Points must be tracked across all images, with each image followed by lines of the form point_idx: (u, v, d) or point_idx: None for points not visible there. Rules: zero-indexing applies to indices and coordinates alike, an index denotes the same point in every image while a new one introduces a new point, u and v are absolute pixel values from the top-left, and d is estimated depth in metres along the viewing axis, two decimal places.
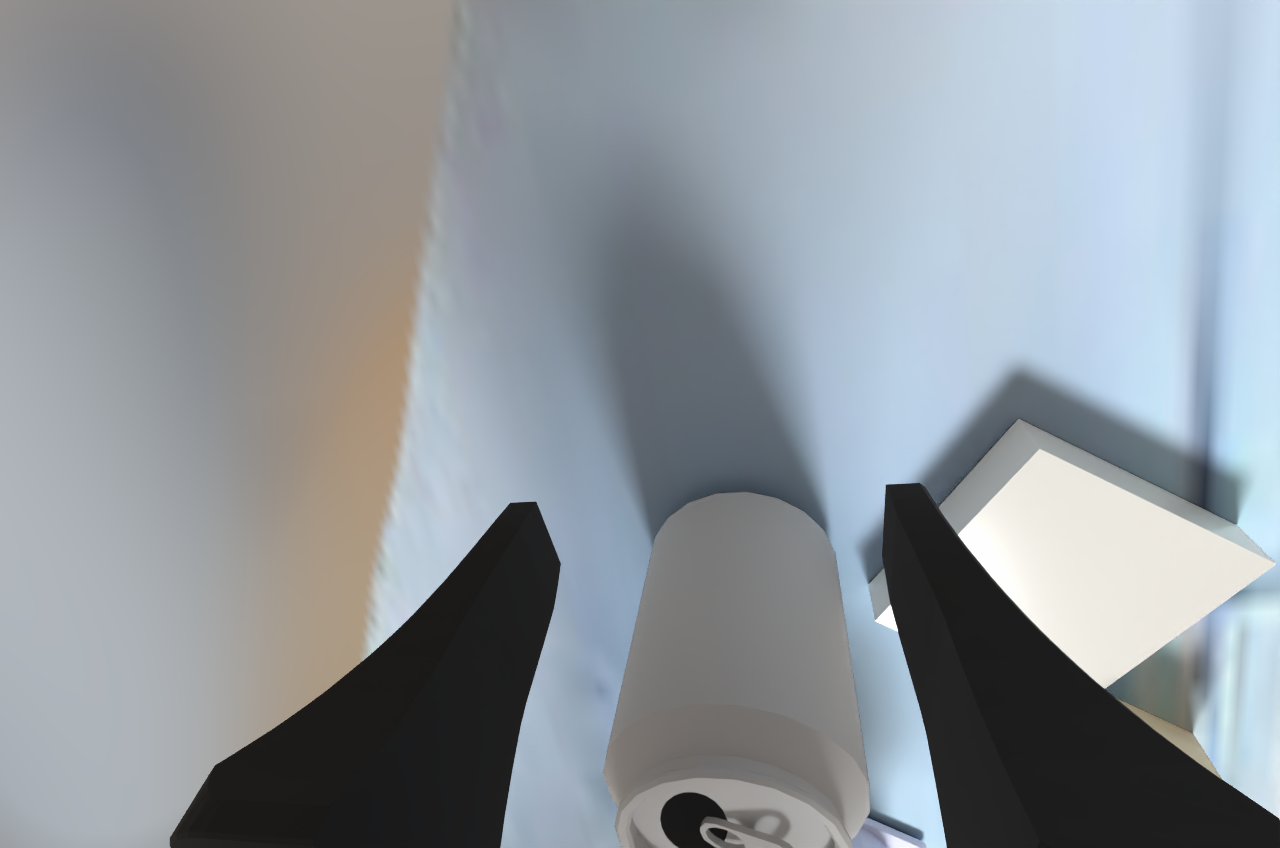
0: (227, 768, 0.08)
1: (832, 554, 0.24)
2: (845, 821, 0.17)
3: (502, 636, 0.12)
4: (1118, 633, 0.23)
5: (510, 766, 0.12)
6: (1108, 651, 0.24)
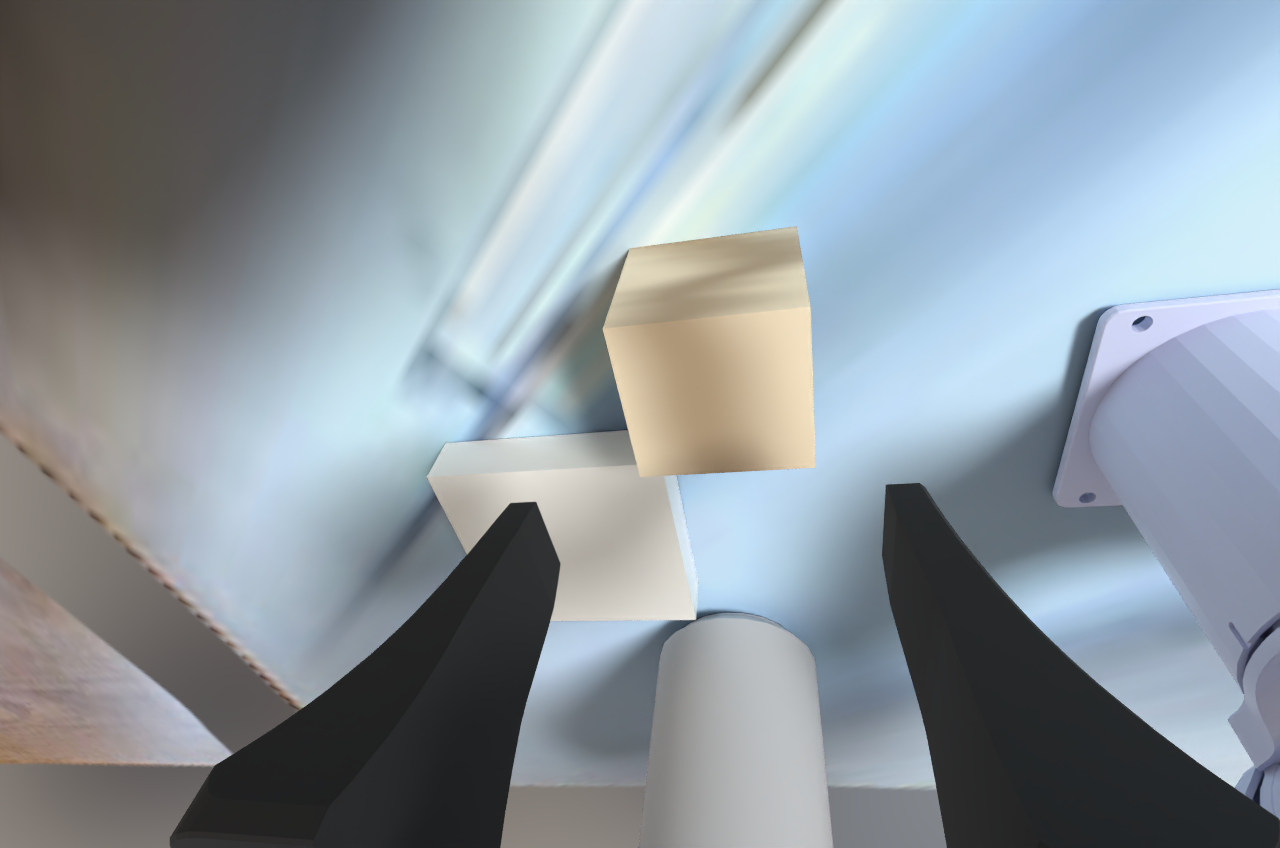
0: (227, 767, 0.08)
1: (670, 647, 0.30)
2: None
3: (502, 636, 0.12)
4: (561, 502, 0.24)
5: (510, 767, 0.12)
6: (581, 494, 0.24)
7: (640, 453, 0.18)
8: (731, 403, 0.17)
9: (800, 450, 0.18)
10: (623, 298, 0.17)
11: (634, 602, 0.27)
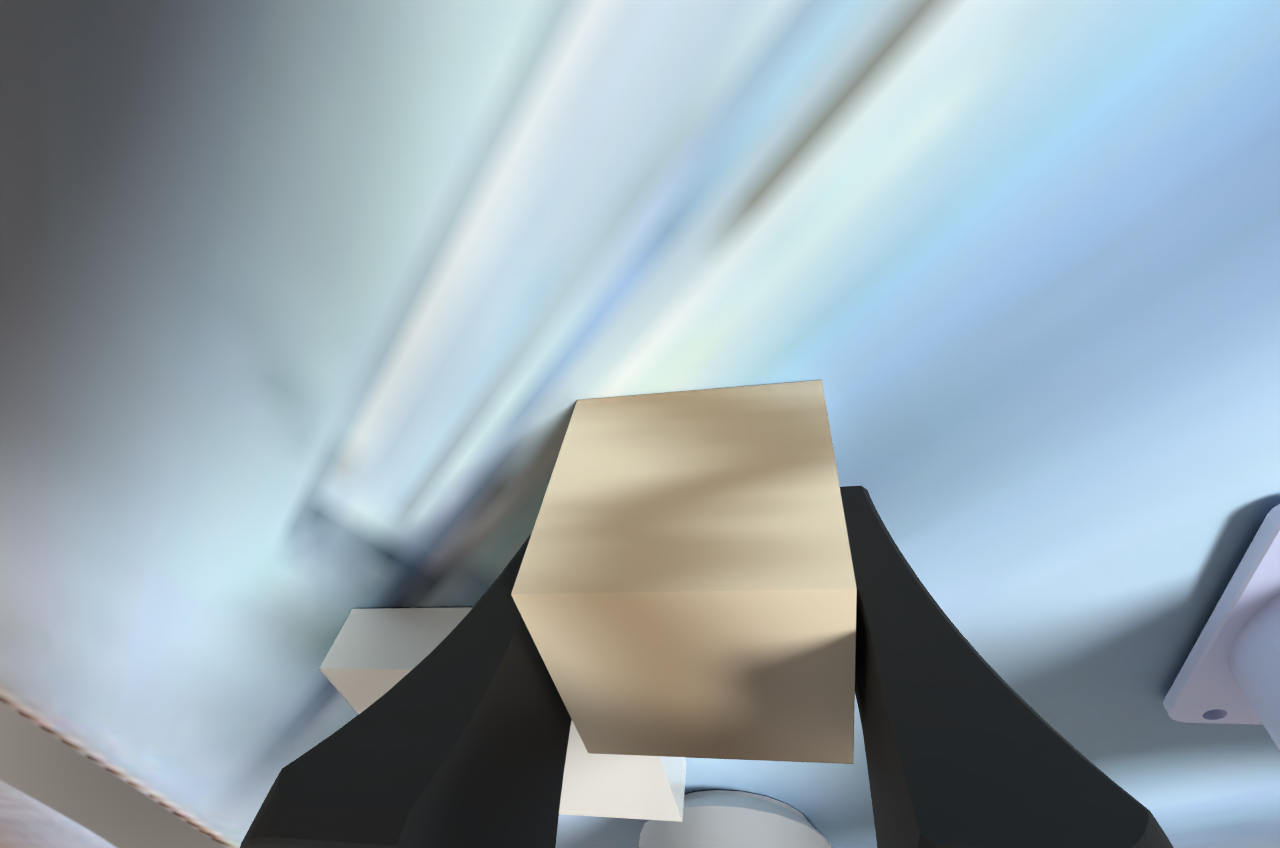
0: (295, 771, 0.08)
1: (651, 836, 0.24)
2: None
3: None
4: None
5: (562, 769, 0.12)
6: None
7: (586, 730, 0.12)
8: (723, 689, 0.11)
9: (830, 745, 0.11)
10: (553, 519, 0.11)
11: (603, 801, 0.21)
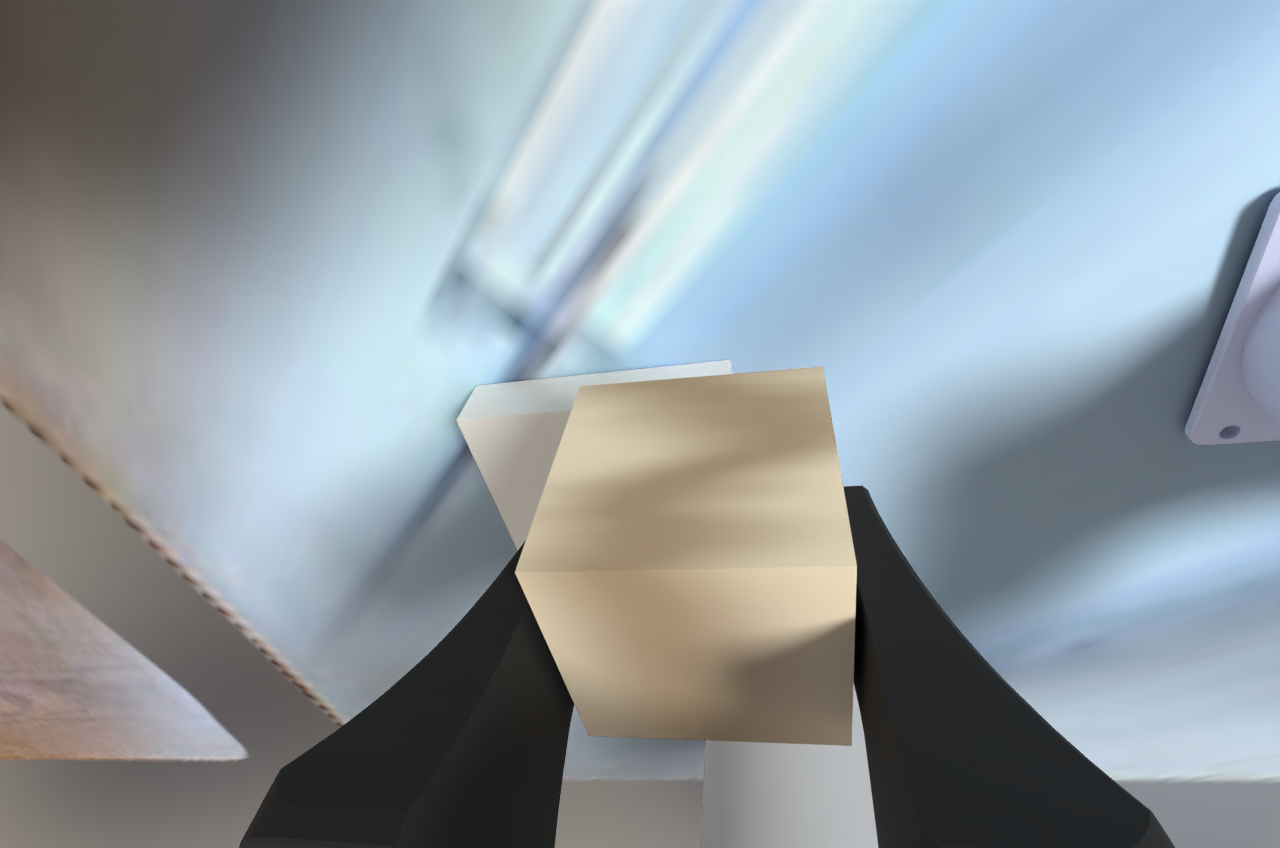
0: (294, 769, 0.08)
1: None
2: None
3: None
4: None
5: (561, 769, 0.12)
6: None
7: (587, 712, 0.12)
8: (723, 670, 0.11)
9: (829, 726, 0.11)
10: (556, 500, 0.11)
11: None
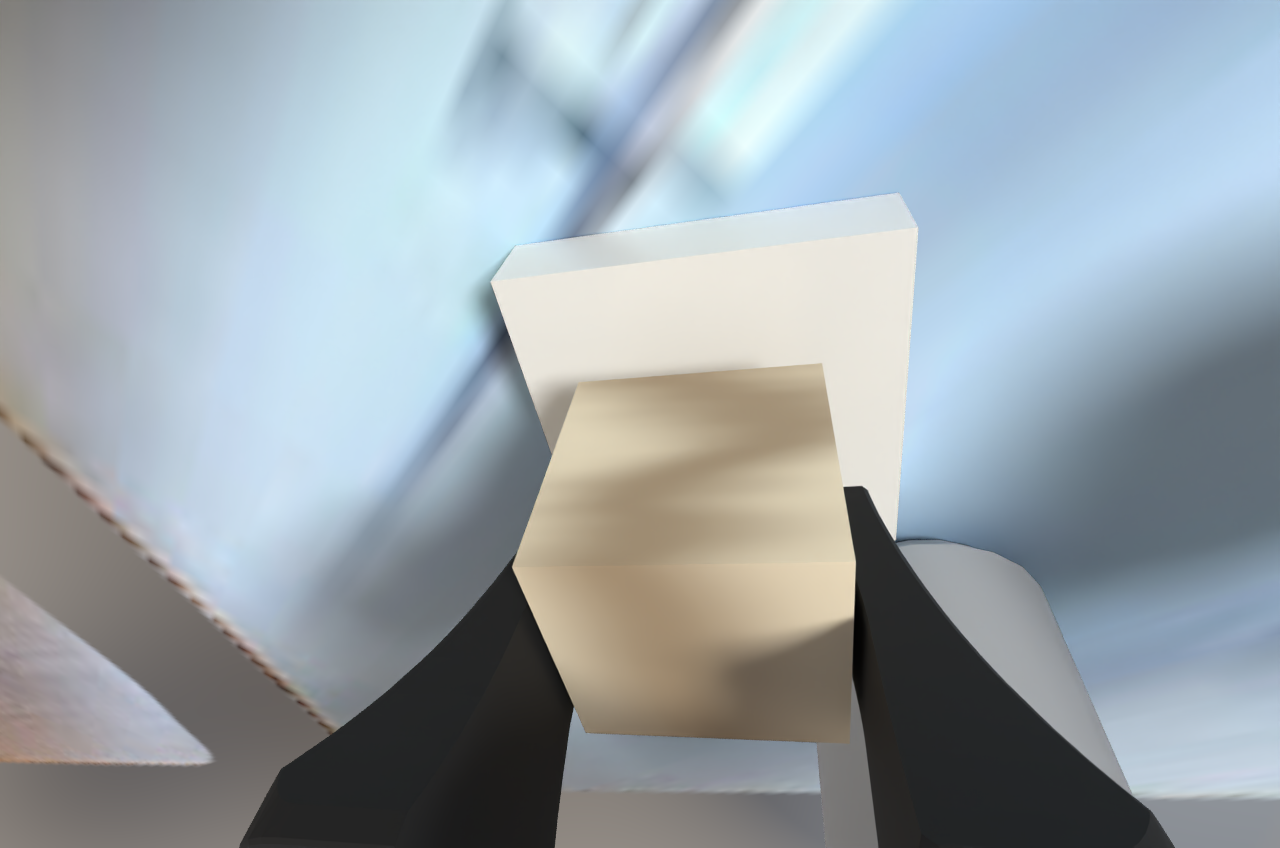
0: (295, 770, 0.08)
1: None
2: None
3: None
4: (717, 323, 0.14)
5: (561, 768, 0.12)
6: (755, 304, 0.14)
7: (584, 709, 0.12)
8: (721, 666, 0.11)
9: (826, 724, 0.11)
10: (554, 495, 0.11)
11: None
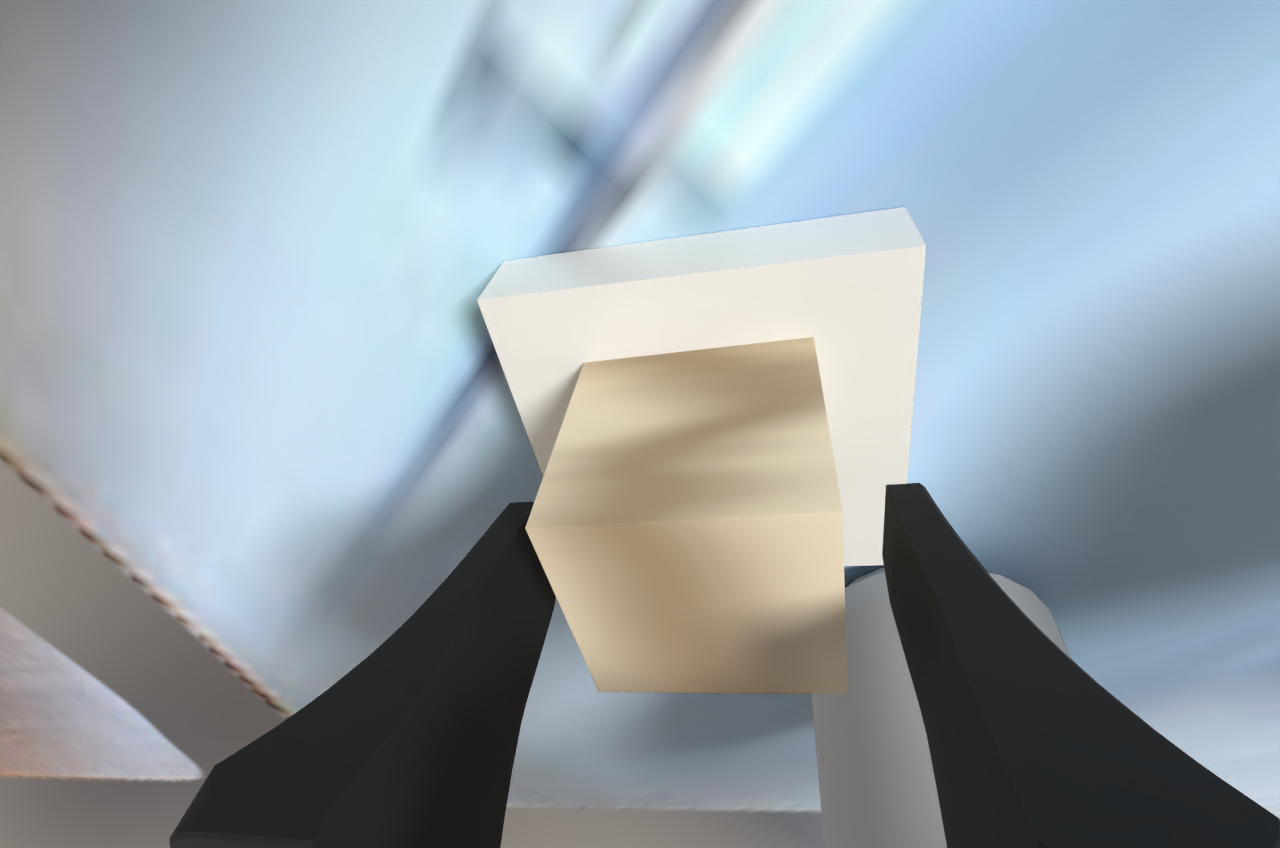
0: (228, 767, 0.08)
1: None
2: None
3: (502, 636, 0.12)
4: (714, 343, 0.14)
5: (509, 767, 0.12)
6: (754, 324, 0.13)
7: (596, 667, 0.13)
8: (723, 620, 0.11)
9: (825, 675, 0.12)
10: (563, 464, 0.12)
11: None
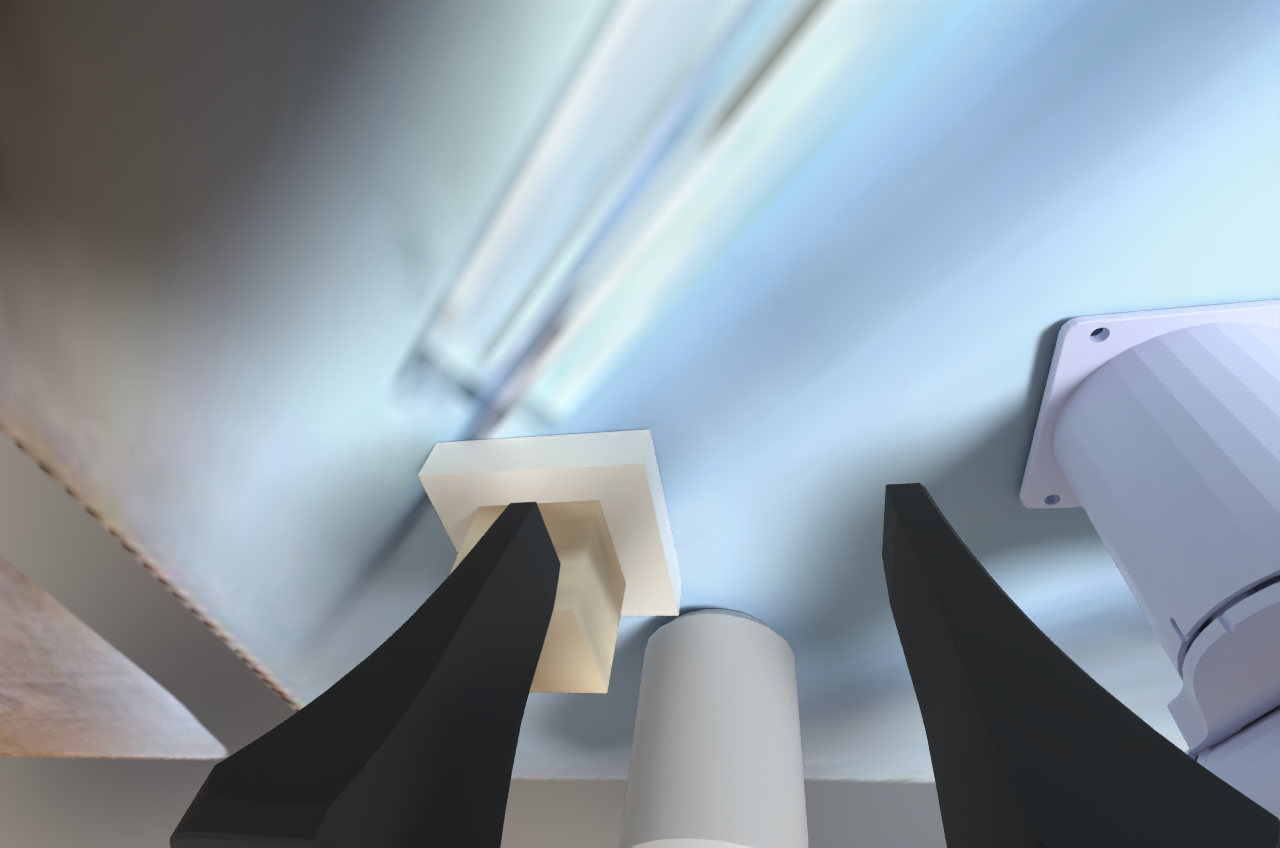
0: (227, 767, 0.08)
1: (654, 642, 0.31)
2: None
3: (502, 636, 0.12)
4: (548, 500, 0.25)
5: (509, 767, 0.12)
6: (567, 493, 0.25)
7: None
8: None
9: (592, 683, 0.23)
10: None
11: None
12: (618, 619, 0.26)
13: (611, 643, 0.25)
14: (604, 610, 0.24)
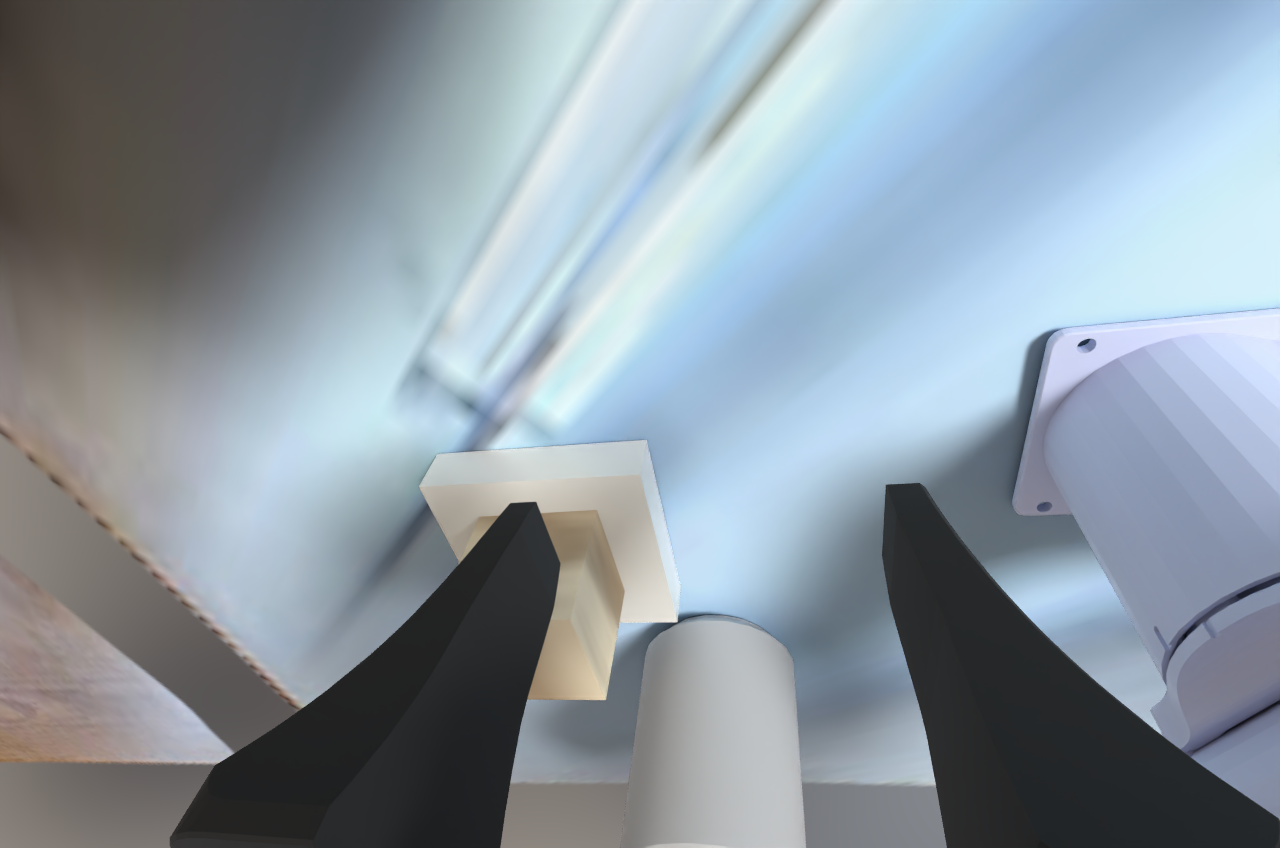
0: (227, 767, 0.08)
1: (653, 648, 0.31)
2: None
3: (502, 636, 0.12)
4: (546, 510, 0.25)
5: (510, 766, 0.12)
6: (565, 503, 0.25)
7: None
8: None
9: (591, 690, 0.24)
10: None
11: None
12: (617, 627, 0.26)
13: (610, 650, 0.25)
14: (603, 619, 0.25)
